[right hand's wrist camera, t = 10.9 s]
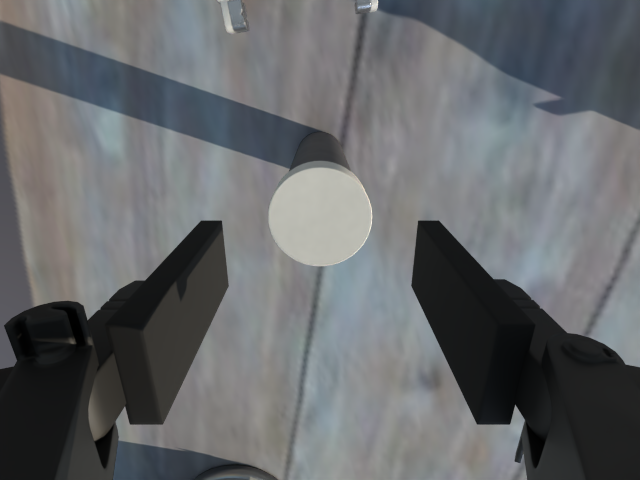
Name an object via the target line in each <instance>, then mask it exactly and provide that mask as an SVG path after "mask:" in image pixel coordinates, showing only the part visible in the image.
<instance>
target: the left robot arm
mask: <svg viewBox="0 0 640 480" xmlns="http://www.w3.org/2000/svg"><path fill="white" fill-rule="evenodd" d="M217 1H218V3H220V5H221V10H222V15H223V19H224V24H225V28H226V31H227V32H228V33H230V34H234V33H240V32H246V31H249V23H248V21H247V20H246V17H247V12H246V7H245V4H244V3H242V1H241V0H232V1H231V0H217ZM377 8H378V0H356V3H355V12H356V14H361V13H368V12H375V11H376V10H377Z"/></svg>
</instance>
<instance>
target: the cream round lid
mask: <svg viewBox="0 0 640 480" xmlns="http://www.w3.org/2000/svg"><path fill="white" fill-rule="evenodd" d="M371 223H372V210H371V205H370V201H369V199H368V196H367V194H366V192H365V190H364V188H363V186H362V184H361V182H360V181H359V180H358V178H357V177H356V176H355V175H354V174H353V173H352V172H351V171H349V170H348V169H347V168H345V167H343V166H341V165H339V164H336V163H333V162H328V161H312V162H307V163H304V164H301V165H299V166H297V167H295V168H294V169H292V170H291V171H289V172H288V173H287V174H286V175H285V176H284V177H283V178H282V179H281V181H280V182H279V184H278V186H277V188H276V190H275V192H274V194H273V196H272V198H271V201H270V204H269V209H268V224H269V228H270V232H271V234H272V237H273V239H274V241H275V242H276V244H277V245H278V246H279V248H280V249H281V250H282V251H283V252H284V253H285V254H287V255H288V256H289V257H291V258H292V259H294V260H296V261H298V262H301V263H304V264H307V265H312V266H327V265H333V264H336V263H339V262H342V261H344V260H346V259H348V258H349V257H351V256H352V255H353V254H355V253H356V252H357V251H358V250H359V249H360V248H361V246H362V245H363V244H364V242H365V240H366V239H367V237H368V234H369V232H370V228H371Z"/></svg>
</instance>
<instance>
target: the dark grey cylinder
mask: <svg viewBox="0 0 640 480" xmlns="http://www.w3.org/2000/svg"><path fill="white" fill-rule="evenodd" d="M312 161H328V162H333V163H336V164H339V165H341V166H343V167H345V168H347V169H348V170H349V171H351V170H350V168H349V165H348V163H347V160H346V158H345V155H344V153H343V150H342V147H341V145H340V143H339V142H338V140H337V139H336V138H335V137H334V136H332V135H331V134H328V133H325V132H314V133H311V134H309V135H308V136H306V137H305V138H304V139H303V140H302V142H301V143H300V145H299V147H298V150H297V152H296V155H295V157H294V160H293V163H292V165H291V168H290V170H289V171H291V170H292V169H294V168H295V167H297V166H299V165H301V164H304V163H307V162H312Z"/></svg>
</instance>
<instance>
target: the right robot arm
mask: <svg viewBox="0 0 640 480" xmlns="http://www.w3.org/2000/svg"><path fill="white" fill-rule="evenodd" d="M228 286H229V285H228V276H227V266H226V257H225V247H224V237H223V228H222V221H200V223H199V224H198V225H197V226H196V227H195V228H194V229H193V230H192V231H191V232H190V233H189V234H188V235H187V236H186V238H185V239H184V240H183V241H182V242H181V243H180V244H179V245H178V246H177V247H176V248H175V249H174V250H173V251H172V253H171V254H170V255H169V256H168V257H167V258H166V259H165V260H164V261H163V262H162V263H161V264H160V265H159V266H158V268H157V269H156V270H155V271H154V272H153V273H152V274H151V275H150V276H149V277H148V278H147V279H146V280H145V281H134V282H132V283H130V284H128V285H127V286H125V287H123V288H121V289H119V290H118V291H117V292H116V293H115V294H114V295H113V296H112V297H111V298H110V299H109V301H107V302H106V303H105V304H104V305H103V306H102V307H101V310H98V311H97V312H96V313H95V314H94V315H93V316H92V317H91V318H90V319H89V320H88V321H87V317H86V313H85V310H84V306H83V305H81V304H80V303H78V302H72V301H60V302H52V303H48V304H43V305H39V306H36V307H34V308H31V309H29V310H26V311H24V312H22V313H20V314H18V315H17V316H15V317H13V318H12V319H11V320H10V321H8V322H7V323H6V324H5V325H4V327H5V329H6V332H7V335H8V337H9V340H10V343H11V345H12V348H13V351H14V353H15V356H16V359H17V362H16V364H15V366H14V367H9V368H4V369H0V480H113V474H114V467H115V460H116V453H117V445H118V438H119V436H118V430H117V426H116V422H115V421H116V419H117V418H118V416H119V415H120V413H121V411H122V410H123V408H124V407H126V411H127V415H128V419H129V423H130V424H163V423H164V421H165V419H166V417H167V415H168V413H169V410H170V408H171V406H172V404H173V402H174V400H175V398H176V396H177V394H178V391H179V389H180V387H181V385H182V383H183V381H184V379H185V377H186V375H187V372H188V370H189V368H190V366H191V364H192V362H193V360H194V358H195V356H196V354H197V351H198V349H199V347H200V345H201V343H202V341H203V339H204V337H205V335H206V332H207V330H208V328H209V326H210V324H211V322H212V320H213V318H214V316H215V313H216V311H217V309H218V307H219V305H220V303H221V301H222V299H223V297H224V295H225V292H226V290H227V288H228ZM411 286H412V288H413V290H414V292H415V295H416V297H417V299H418V301H419V303H420V305H421V307H422V309H423V311H424V313H425V316H426V318H427V320H428V322H429V324H430V326H431V328H432V330H433V332H434V335H435V337H436V339H437V341H438V343H439V345H440V347H441V349H442V351H443V354H444V356H445V358H446V360H447V362H448V364H449V366H450V368H451V370H452V372H453V375H454V377H455V379H456V381H457V383H458V385H459V387H460V389H461V391H462V394H463V396H464V398H465V400H466V402H467V404H468V406H469V408H470V410H471V413H472V415H473V417H474V419H475V421H476V423H477V424H510V423H511V419H512V415H513V411H514V407H515V405H516V406H517V408H518V409H519V411H520V413H521V414H522V416H523V417H524V419H525V422H524V426H523V430H522V433H521V437H520V440H519V444H518V448H517V451H516V456H515V462H518V463H520V462H521V458H522V455H523V454H524V459H525V466H526V473H527V480H640V367H635V366H630V365H625V363H624V361H623V360H622V359H621V358H620V356H619V355H618V354H617V353H616V352H615V351H613V350H612V349H610V348H609V347H608V346H606V345H605V344H603V343H600V342H598V341H596V340H594V339H591V338H588V337H585V336H581V335H578V334H570V333H567V332H566V331H565V330H564V329H562V328H561V327H560V326H559V325H558V324H557V323H556V322H555V321H554V320H553V319H552V318H551V317H550V316H549V315H548V314H547V313H546V312H545V311H544V310H543V309H540V306H539V305H538V304H537V303H536V302H535V301H534V300H531V297H529V296H528V295H527V294H526V293H525V292H524V291H523V290H522V289H521V288H520V287H518V286H516V285H514V284H512V283H511V282H509V281H507V280H505V279H493V278H492V277H491V276H490V275H489V274H488V273H487V272H486V271H485V270H484V269H483V268H482V266H481V265H480V264H479V263H478V262H477V261H476V260H475V259H474V258H473V257H472V256H471V255H470V254H469V253H468V251H467V250H466V249H465V248H464V247H463V246H462V245H461V244H460V243H459V242H458V241H457V240H456V239H455V238H454V236H453V235H452V234H451V233H450V232H449V231H448V230H447V229H446V228H445V227H444V226H443V225H442V224H441V223H440V221H418V228H417V237H416V247H415V257H414V266H413V276H412V285H411ZM195 480H277V479H276V478H275V477H273V476H272V475H270V474H268V473H267V472H264V471H262V470H259V469H256V468H252V467H248V466H239V465H230V466H221V467H217V468H213V469H210V470H208V471H206V472H204V473H202V474H201V475H199V476H198V477H197V478H196V479H195Z"/></svg>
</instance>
